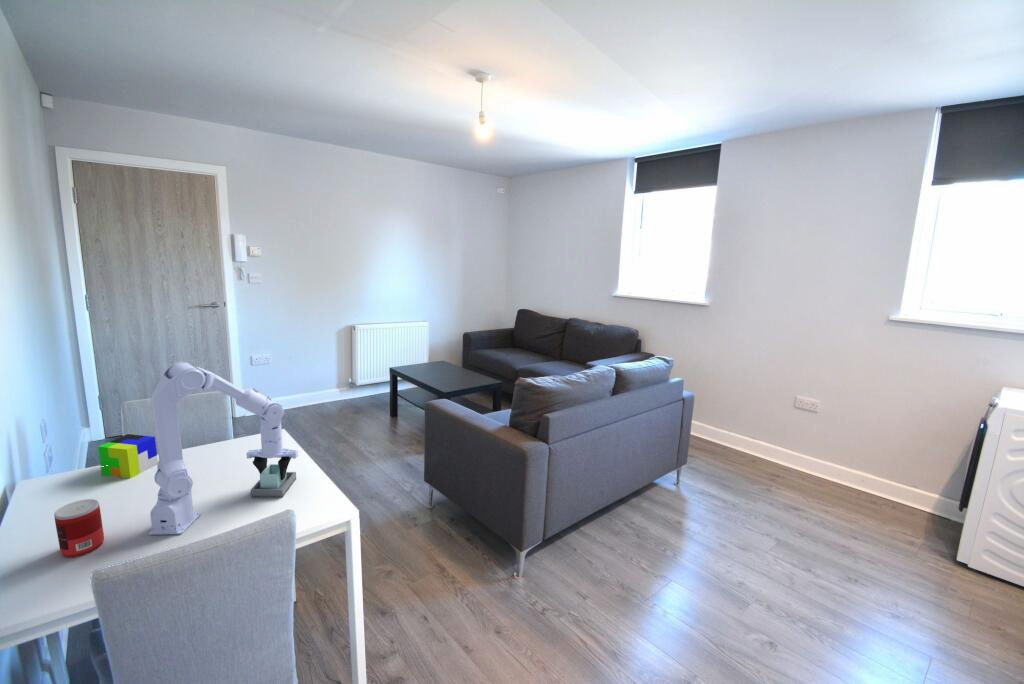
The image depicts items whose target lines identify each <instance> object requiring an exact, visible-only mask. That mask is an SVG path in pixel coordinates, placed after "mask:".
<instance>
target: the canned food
mask: <svg viewBox="0 0 1024 684" xmlns="http://www.w3.org/2000/svg"><path fill="white" fill-rule="evenodd" d="M99 502H100V501H99V500H98V499H94V498H88V499H87V498H86V499H81V500H76V501H73V502H70V503H67V504H65V505H63V506H61V507H59V508H58V509H57V510H56V511H55V512H54V523H55V528H56V529H55V530H56V534H57V539H58V545H59V551H60V553H61V556H63V557H65V558H77V557H76V556H78V557H81V556H80V555H82V556H85V555H87V554H86V553H88V554H89V552H90V553H92V552H94V551H96V550H97V549H98V548H100V547H101V546H102V545H103V543H104V541H105V535H104V527H103V520H102V514H101V513H102V512H101V506H100V503H99ZM95 549H96V550H95ZM93 550H94V551H93ZM91 551H92V552H91ZM84 554H85V555H84Z"/></svg>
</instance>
